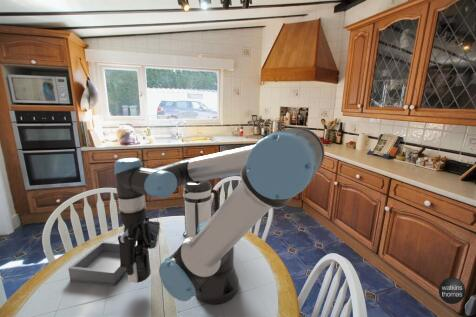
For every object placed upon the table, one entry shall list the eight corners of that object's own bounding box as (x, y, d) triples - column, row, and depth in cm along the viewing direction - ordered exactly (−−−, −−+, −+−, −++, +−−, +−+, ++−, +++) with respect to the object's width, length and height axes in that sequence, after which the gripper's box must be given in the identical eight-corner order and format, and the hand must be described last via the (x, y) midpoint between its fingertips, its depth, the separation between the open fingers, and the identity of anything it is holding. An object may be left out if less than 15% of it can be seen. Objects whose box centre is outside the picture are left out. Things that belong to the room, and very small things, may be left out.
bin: (141, 255, 97) (140, 244, 96) (115, 285, 80) (113, 273, 79) (103, 251, 99) (102, 241, 98) (70, 280, 83) (68, 268, 81)
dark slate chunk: (165, 225, 123) (164, 216, 121) (153, 250, 101) (153, 240, 100) (134, 226, 121) (133, 217, 120) (117, 251, 100) (115, 241, 99)
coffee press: (214, 244, 105) (214, 180, 98) (179, 244, 105) (176, 180, 99) (218, 225, 122) (218, 169, 115) (188, 225, 122) (185, 169, 115)
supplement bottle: (154, 269, 80) (151, 238, 78) (144, 284, 74) (141, 250, 71) (135, 268, 81) (131, 237, 78) (124, 282, 74) (119, 249, 72)
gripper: (138, 196, 82) (144, 254, 87) (99, 222, 63) (109, 295, 68) (158, 196, 81) (163, 255, 86) (124, 224, 62) (133, 298, 67)
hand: (139, 273), depth 77 cm, fingers closed on supplement bottle, 7 cm apart
